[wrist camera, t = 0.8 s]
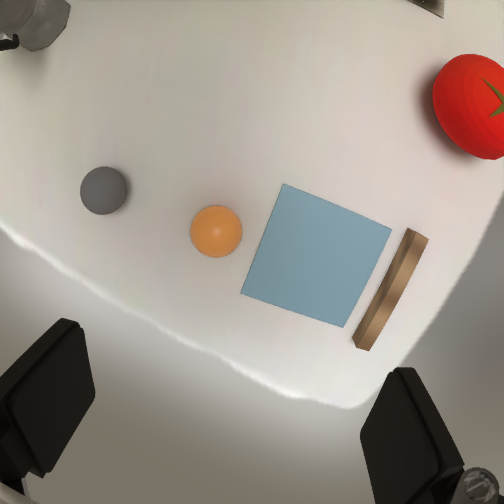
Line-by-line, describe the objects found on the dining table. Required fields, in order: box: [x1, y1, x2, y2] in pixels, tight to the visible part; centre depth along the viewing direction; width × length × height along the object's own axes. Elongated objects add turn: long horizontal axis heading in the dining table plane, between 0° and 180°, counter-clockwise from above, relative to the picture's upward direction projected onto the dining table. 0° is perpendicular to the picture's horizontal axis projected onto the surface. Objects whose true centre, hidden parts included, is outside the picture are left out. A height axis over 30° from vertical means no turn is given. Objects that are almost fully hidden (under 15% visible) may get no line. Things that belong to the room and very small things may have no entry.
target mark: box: [241, 184, 392, 328], centre depth 37 cm, size 14×14×1 cm
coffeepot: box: [0, 0, 70, 51], centre depth 20 cm, size 15×9×18 cm, turn 19°
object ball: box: [190, 206, 242, 257], centre depth 34 cm, size 6×6×6 cm
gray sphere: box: [80, 167, 126, 215], centre depth 33 cm, size 6×6×6 cm
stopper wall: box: [352, 228, 429, 351], centre depth 37 cm, size 16×2×2 cm, turn 160°
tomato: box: [432, 54, 504, 160], centre depth 25 cm, size 11×12×10 cm
